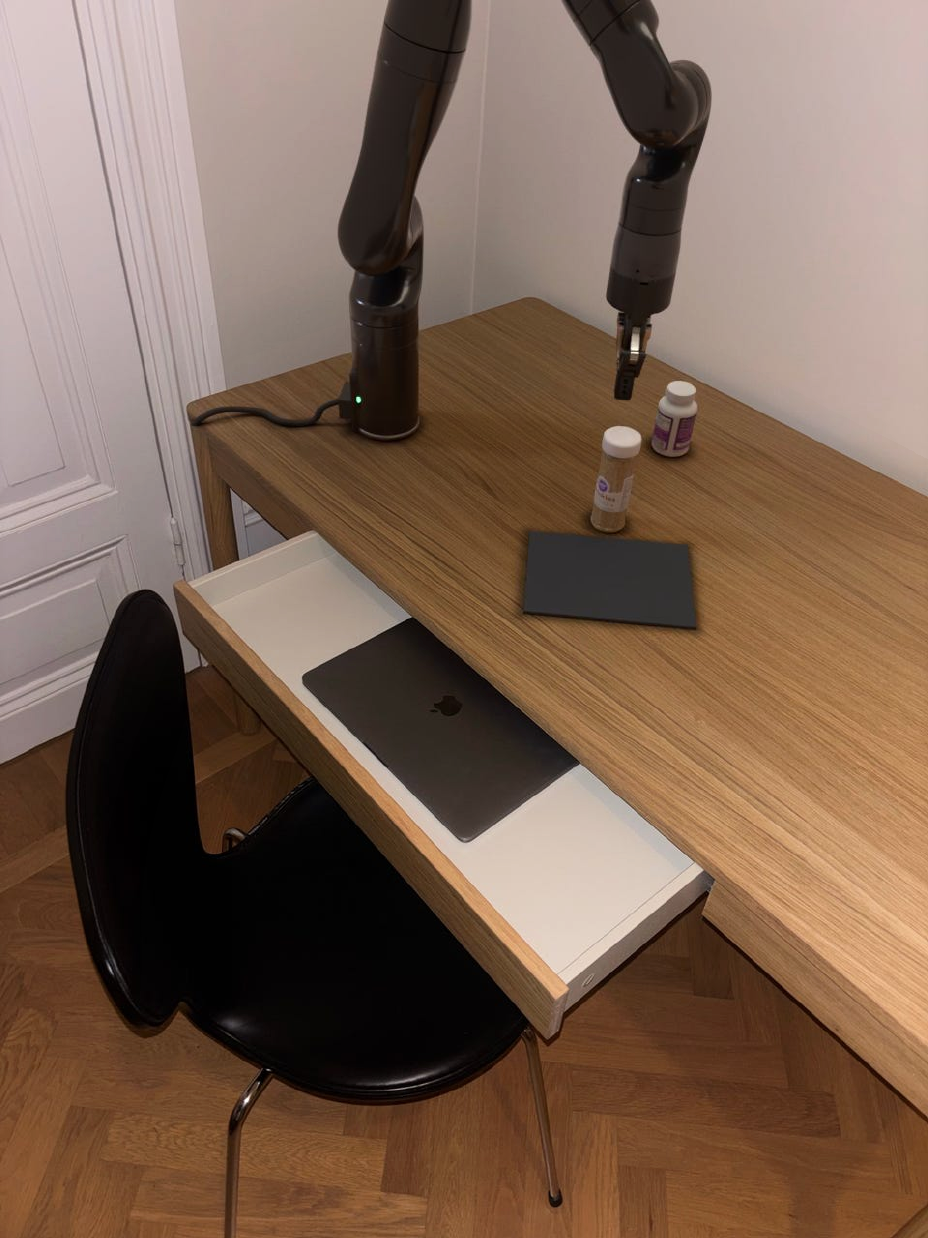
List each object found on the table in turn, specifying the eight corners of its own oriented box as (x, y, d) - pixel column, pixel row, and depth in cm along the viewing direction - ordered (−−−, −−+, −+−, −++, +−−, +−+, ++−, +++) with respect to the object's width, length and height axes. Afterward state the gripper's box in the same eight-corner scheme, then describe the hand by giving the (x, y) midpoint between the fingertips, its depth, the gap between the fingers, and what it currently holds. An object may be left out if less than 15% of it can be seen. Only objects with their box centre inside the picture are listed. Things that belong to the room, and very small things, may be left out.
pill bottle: (687, 438, 138) (700, 379, 131) (689, 459, 134) (703, 399, 127) (649, 435, 138) (661, 376, 131) (651, 456, 134) (663, 396, 128)
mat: (522, 613, 110) (523, 610, 110) (529, 533, 121) (529, 530, 121) (695, 629, 109) (696, 627, 109) (687, 547, 120) (687, 544, 120)
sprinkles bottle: (583, 523, 123) (596, 435, 113) (603, 508, 125) (617, 420, 116) (612, 538, 121) (628, 449, 111) (632, 522, 123) (649, 434, 114)
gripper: (610, 237, 113) (592, 369, 125) (611, 286, 104) (592, 423, 116) (673, 242, 113) (649, 373, 125) (680, 290, 103) (654, 427, 115)
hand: (622, 397), depth 120 cm, fingers closed
